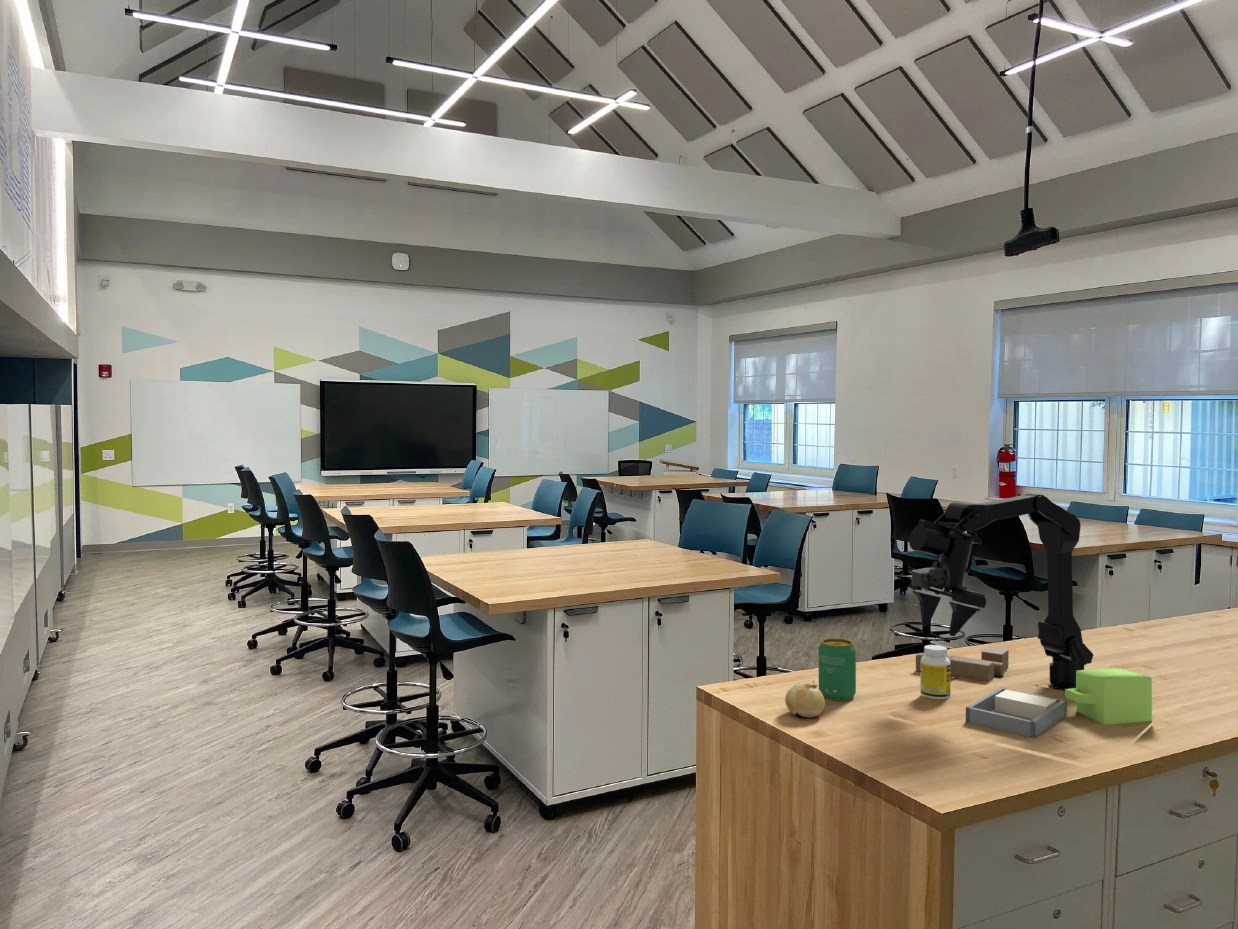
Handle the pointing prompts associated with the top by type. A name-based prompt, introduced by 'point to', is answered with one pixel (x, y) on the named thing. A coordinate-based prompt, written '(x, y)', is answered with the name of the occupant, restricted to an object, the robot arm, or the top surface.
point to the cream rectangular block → (1022, 704)
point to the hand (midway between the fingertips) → (937, 631)
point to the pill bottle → (935, 672)
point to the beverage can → (837, 669)
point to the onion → (805, 700)
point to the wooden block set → (976, 664)
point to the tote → (1013, 716)
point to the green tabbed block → (1112, 695)
